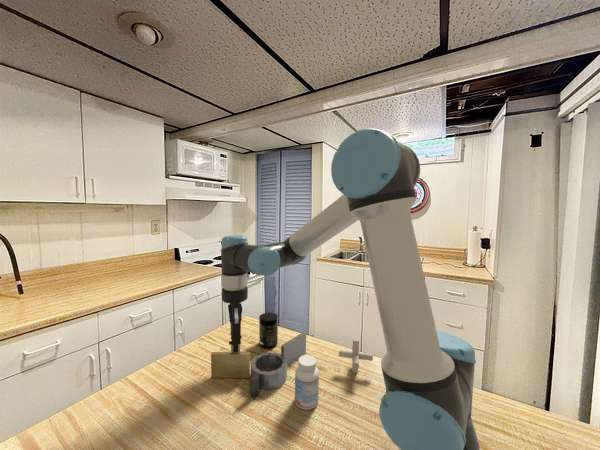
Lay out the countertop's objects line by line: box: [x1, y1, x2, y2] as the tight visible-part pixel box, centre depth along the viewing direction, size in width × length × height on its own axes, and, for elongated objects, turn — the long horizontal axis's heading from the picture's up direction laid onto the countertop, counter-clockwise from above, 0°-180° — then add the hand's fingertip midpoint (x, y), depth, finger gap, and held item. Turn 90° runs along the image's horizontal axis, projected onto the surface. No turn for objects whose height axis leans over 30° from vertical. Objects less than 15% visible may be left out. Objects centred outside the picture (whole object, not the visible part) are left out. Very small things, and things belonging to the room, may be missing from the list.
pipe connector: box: [338, 337, 374, 374], centre depth 76 cm, size 10×10×10 cm
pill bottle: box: [294, 354, 320, 411], centre depth 64 cm, size 6×6×11 cm
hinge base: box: [249, 331, 307, 400], centre depth 76 cm, size 10×25×7 cm, turn 140°
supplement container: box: [258, 312, 279, 350], centre depth 90 cm, size 7×7×10 cm
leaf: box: [210, 351, 251, 379], centre depth 72 cm, size 1×11×7 cm, turn 91°
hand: (235, 361), depth 76 cm, fingers closed
